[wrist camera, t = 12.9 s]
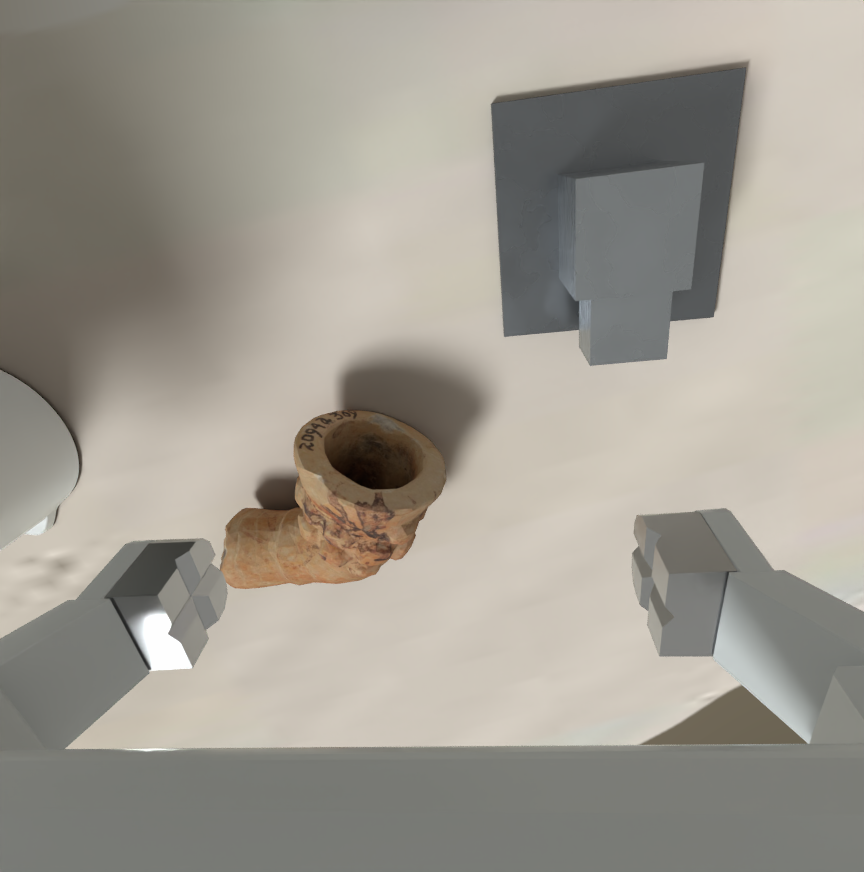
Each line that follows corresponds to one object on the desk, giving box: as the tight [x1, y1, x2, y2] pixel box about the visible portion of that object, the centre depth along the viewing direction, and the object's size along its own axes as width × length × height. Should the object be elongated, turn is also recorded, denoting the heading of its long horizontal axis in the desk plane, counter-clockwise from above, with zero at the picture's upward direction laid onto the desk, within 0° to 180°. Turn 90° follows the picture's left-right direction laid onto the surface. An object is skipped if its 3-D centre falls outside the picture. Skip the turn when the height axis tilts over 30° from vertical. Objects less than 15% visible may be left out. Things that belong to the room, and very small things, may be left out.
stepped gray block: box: [558, 161, 704, 366], centre depth 32 cm, size 10×6×6 cm, turn 7°
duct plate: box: [491, 68, 746, 337], centre depth 32 cm, size 14×14×4 cm
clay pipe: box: [220, 410, 446, 589], centre depth 41 cm, size 19×11×15 cm
